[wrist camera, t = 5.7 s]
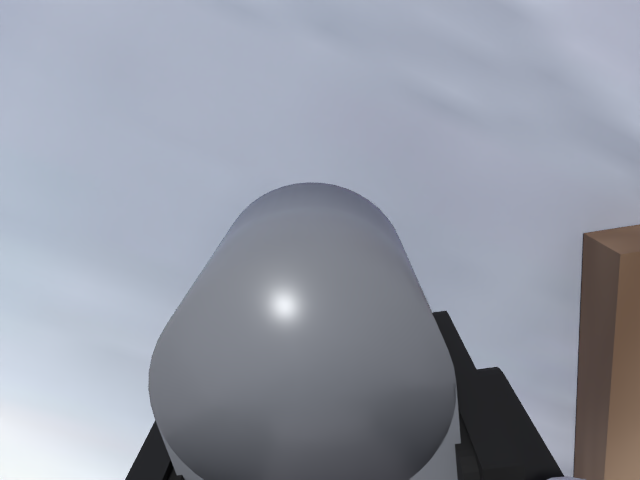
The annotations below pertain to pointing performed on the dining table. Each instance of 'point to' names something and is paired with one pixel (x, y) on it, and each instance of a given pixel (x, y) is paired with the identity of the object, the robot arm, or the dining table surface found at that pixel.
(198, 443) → the grey double dome block
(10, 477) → the dining table surface
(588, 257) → the walnut board
